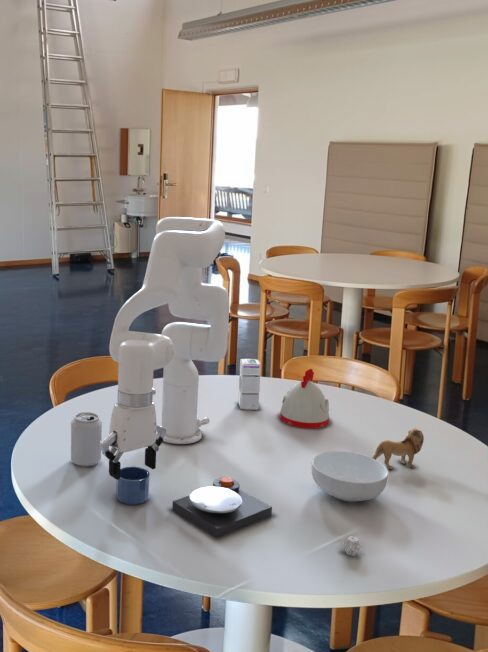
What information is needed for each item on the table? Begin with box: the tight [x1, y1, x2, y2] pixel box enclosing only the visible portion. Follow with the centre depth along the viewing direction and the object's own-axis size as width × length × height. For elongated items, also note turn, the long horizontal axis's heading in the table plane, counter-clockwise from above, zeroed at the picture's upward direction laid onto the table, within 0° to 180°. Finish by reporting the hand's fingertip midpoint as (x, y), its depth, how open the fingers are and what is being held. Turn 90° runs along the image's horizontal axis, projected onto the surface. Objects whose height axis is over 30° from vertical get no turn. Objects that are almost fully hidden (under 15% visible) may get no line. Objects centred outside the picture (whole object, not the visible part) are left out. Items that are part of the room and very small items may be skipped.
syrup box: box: [237, 358, 261, 411], centre depth 217 cm, size 6×6×14 cm
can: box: [70, 411, 103, 467], centre depth 175 cm, size 8×8×12 cm
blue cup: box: [115, 466, 151, 506], centre depth 157 cm, size 7×7×6 cm
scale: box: [171, 477, 273, 539], centre depth 153 cm, size 16×14×4 cm
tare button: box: [220, 476, 234, 487], centre depth 159 cm, size 3×3×1 cm
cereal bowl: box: [311, 450, 389, 503], centre depth 162 cm, size 17×17×7 cm
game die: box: [342, 535, 362, 557], centre depth 139 cm, size 4×4×3 cm
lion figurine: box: [372, 428, 425, 470], centre depth 179 cm, size 15×5×9 cm, turn 110°
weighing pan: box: [189, 486, 242, 513], centre depth 151 cm, size 11×11×1 cm
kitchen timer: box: [279, 368, 330, 429], centre depth 208 cm, size 14×14×15 cm
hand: (132, 472), depth 156 cm, fingers open, 9 cm apart
